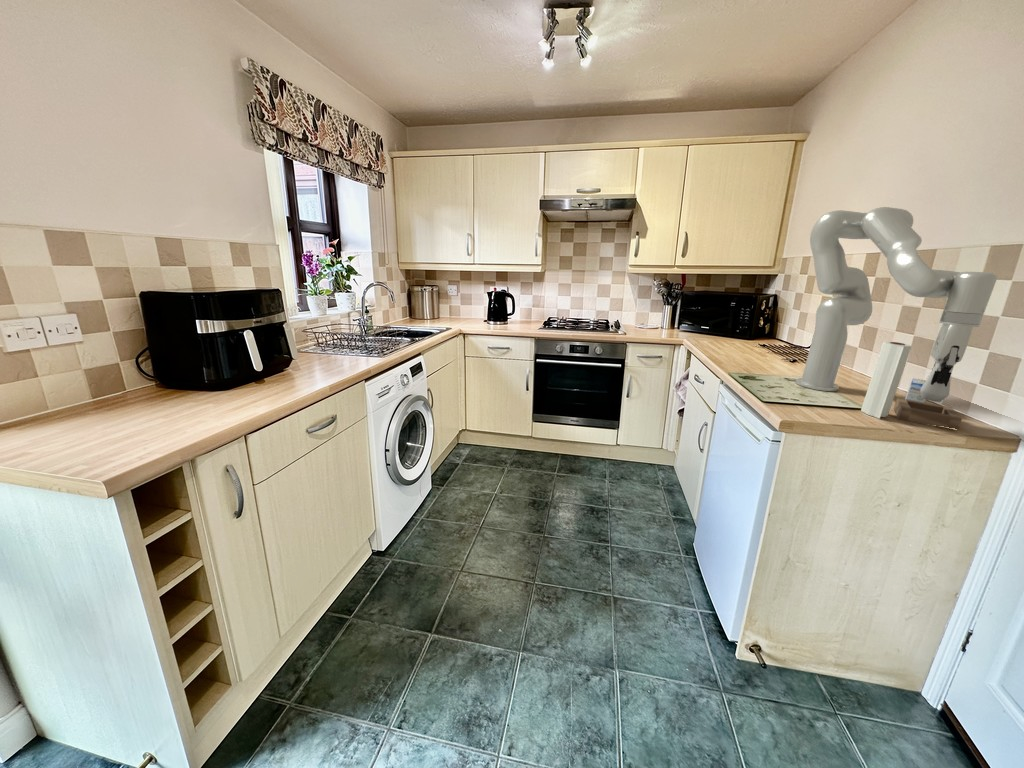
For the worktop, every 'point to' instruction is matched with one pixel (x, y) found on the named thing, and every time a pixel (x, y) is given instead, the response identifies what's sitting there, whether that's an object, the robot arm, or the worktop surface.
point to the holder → (926, 413)
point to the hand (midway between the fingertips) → (937, 383)
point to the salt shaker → (935, 387)
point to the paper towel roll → (885, 378)
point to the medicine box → (915, 391)
